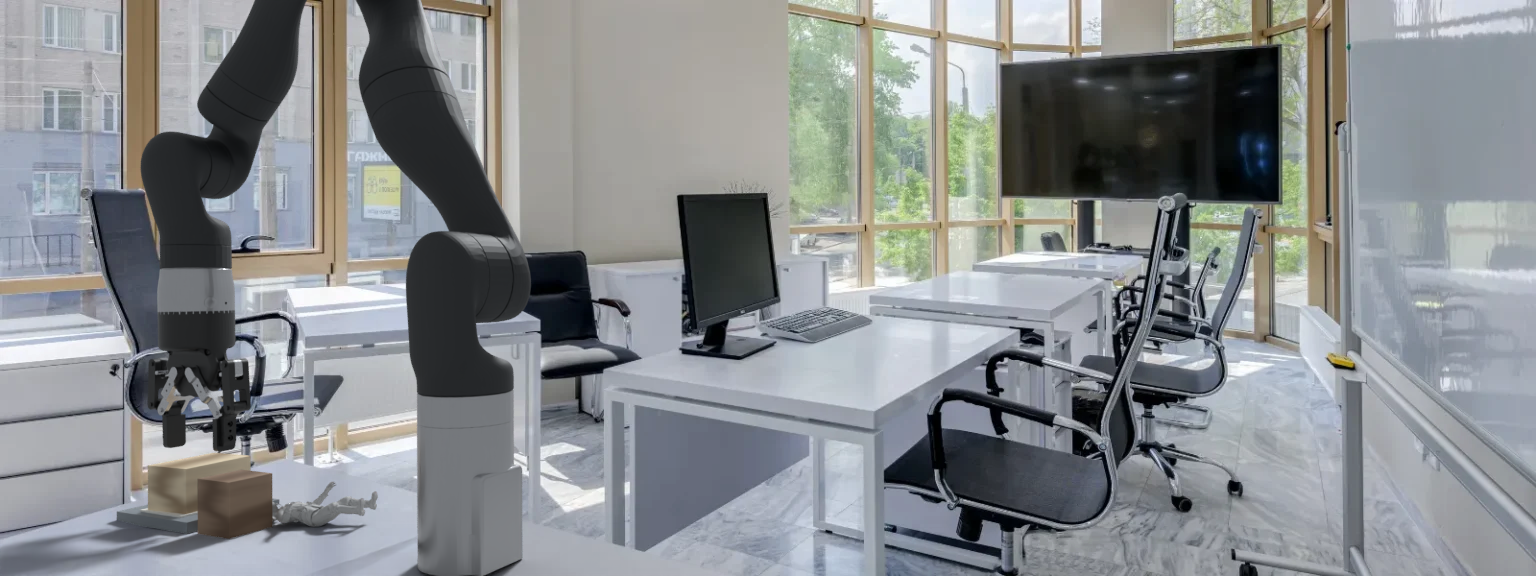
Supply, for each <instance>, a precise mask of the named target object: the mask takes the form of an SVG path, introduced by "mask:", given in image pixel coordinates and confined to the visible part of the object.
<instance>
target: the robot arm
mask: <svg viewBox="0 0 1536 576" xmlns="http://www.w3.org/2000/svg"><path fill="white" fill-rule="evenodd" d="M307 1H308V0H254V2H253V4H252V6H251V9H250V11H249V13H248V16H247V17H246V20H245V22H244V24H243V26H242V28H241V30H240V32H239V34H238V35H237V37H236V40H235V41H234V43H233V44H232V46H231V47H230V50H229V51H228V52H227V54H226V55H225V56H224V57H223V59H222V61H221V62H220V64H219V66H218V67H217V69H216V70H215V72H214V73H213V74H212V76H211V77H210V79H209V81H208V82H206V83H207V84H206V85H205V87H203V90H202V91H201V93H200V94H199V96H198V99H197V101H196V103H197V105H196V106H197V110H198V112H199V113H200V115H201V116H202V117H203V118H204V119H205V120H206V121H207V122H208V123H210V124H211V125H212V129H211V131H210V133H209V134H208V136H206V137H203V136H200V135H194V134H190V133H184V132H180V131H163V132H159V133H158V134H156V135H154V136H153V137H152V138H151V139H150V140H149V141H148V142H147V144H146V145H145V146H144V148H143V151H142V153H141V158H140V175H141V177H140V178H141V180H142V185H143V188H144V191H145V194H146V197H147V200H148V203H149V206H150V210H151V212H152V213H151V214H152V216H153V219H154V222H155V225H156V228H157V231H158V234H159V243H158V244H159V268H160V269H159V274H158V275H159V276H158V282H157V289H156V290H157V293H156V297H157V300H156V301H157V347H158V349H159V350H160V351H164V352H168V353H169V354H168V357H158V358H150V359H149V360H148V371H147V372H148V373H147V374H148V377H147V408H148V409H149V410H152V411H153V410H156V411H157V413H158V415H159V416H161V417H162V424H161V425H162V426H161V427H162V445H163V447H164V448H168V449H172V448H173V449H174V448H180V447H183V446H185V445H186V443H187V431H186V430H187V429H186V428H187V427H186V426H187V425H186V424H187V423H186V421H187V420H186V418H187V417H186V414H185V413H184V412H185V410H186V408H187V406H188V404H189V403H190V401H191V400H193V399H195V398H199V400H200V403H203V404H205V405H207V407H208V408H209V410H210V413H211V414H212V416H213V418H212V450H213V451H214V452H219V453H221V452H226V451H232V450H234V449H235V448H236V443H237V417H238V416H239V415H240V414H241V413H243V412H245V411H250V410H251V408H252V401H251V400H252V399H251V386H250V385H251V383H250V368H249V367H250V366H249V360H248V359H247V358H235V359H232V358H231V359H228V354H227V350H228V349H231V348H233V347H235V346H236V293H235V292H236V291H235V289H236V288H235V281H234V276H233V269H232V268H233V262H232V261H233V253H232V251H233V248H232V245H233V244H232V241H233V240H232V231H231V228H230V226H229V225H228V224H227V223H226V221H223V220H222V219H219V218H217V217H214V216H212V215H210V214H209V213H208V212H207V209H206V207H205V204H204V201H203V199H210V200H220V199H225V198H228V197H229V196H231V195H233V194H234V193H236V192H237V191H238V190H239V189H240V188H241V187H242V186H243V185H244V184H245V182H247V179H248V177H249V175H250V172H251V170H252V167H253V163H254V161H255V160H254V159H255V158H256V153H257V151H258V148H259V145H260V141H261V137H262V134H263V130H264V128H265V127H266V125H267V124H268V123H269V121H270V120H271V119H272V117H273V116H274V114H275V113H276V111H277V110H278V109H279V107H280V106H281V104H282V102H283V100H285V98H286V97H287V95H288V93H289V91H290V89H291V88H292V86H293V83H294V80H295V77H296V75H297V70H298V64H299V50H300V49H299V44H300V43H299V42H300V28H301V27H300V26H301V21H302V17H303V13H304V9H305V5H306V3H307ZM355 1H356V4H357V5H358V7H359V9H360V12H361V14H362V17H363V20H364V23H365V25H366V28H367V31H368V37H369V41H368V44H367V47H366V49H365V52H364V55H363V57H362V60H361V64H360V67H359V71H358V87H359V93H360V97H361V100H362V102H363V106H364V108H365V111H366V115H367V117H368V120H369V123H370V126H371V129H372V132H373V134H374V137H375V138H376V140H377V142H378V144H379V146H380V147H381V149H382V150H383V151H384V153H385V154H386V155H387V157H388V158H389V159H390V160H391V161H392V162H393V164H395V165H396V167H398V169H399V170H400V171H401V172H402V173H403V174H404V175H405V176H406V177H407V178H408V179H409V181H411V182H412V183H413V184H414V186H416V187H417V189H419V191H421V192H422V193H423V195H425V197H426V198H427V199H429V201H430V202H431V203H432V204H433V206H434V207H435V208H436V209H437V211H438V212H439V214H440V216H441V218H442V220H443V222H444V223H445V225H446V228H447V230H438V231H431V232H428V233H426V234H425V235H423V236H422V237H420V238H419V240H417V242H416V243H415V244H414V247H413V248H412V250H411V252H410V254H409V258H408V261H407V265H406V273H405V274H406V275H405V299H406V302H405V303H406V313H407V329H408V330H407V331H408V346H409V347H408V348H409V349H408V350H409V351H408V352H409V360H410V363H411V366H412V370H413V372H414V375H415V379H416V493H417V494H416V495H417V496H416V497H417V498H416V502H417V503H416V504H417V505H416V508H417V509H416V510H417V511H416V512H417V513H416V515H417V516H416V521H417V522H416V523H417V524H416V525H417V526H416V528H417V569H418V570H419V572H421V573H424V574H428V575H430V576H486V575H489V574H491V573H493V572H495V571H498V570H499V569H502V568H504V567H507V566H509V565H510V564H513V563H515V562H517V561H520V560H522V559H523V552H524V551H523V550H524V549H523V546H524V545H523V543H524V541H523V535H524V534H523V467H522V466H521V465H519V464H515V433H514V431H515V429H514V427H515V425H514V424H515V423H514V422H515V420H514V419H515V416H514V415H515V414H514V413H515V409H514V408H515V403H514V402H515V400H514V398H515V396H514V395H515V394H514V392H515V389H514V388H515V384H514V382H515V376H514V375H515V374H514V368H513V365H512V364H511V362H510V361H508V360H507V359H504V358H502V357H498V356H496V355H493V354H491V353H490V352H488V351H487V350H486V349H485V348H484V347H483V346H482V345H481V343H480V340H479V335H478V328H477V324H488V323H489V324H490V323H499V322H504V321H509V320H510V321H511V320H512V319H514V318H516V317H518V316H519V315H520V314H522V312H523V311H524V310H525V308H526V306H527V305H528V302H529V299H530V296H531V288H532V283H531V282H532V281H531V280H532V278H531V270H530V267H529V263H528V259H527V256H526V252H525V251H524V248H523V246H522V244H521V242H520V240H519V238H518V236H517V234H516V232H515V229H514V227H513V226H512V224H511V222H510V220H509V219H508V215H506V213H505V210H504V208H503V207H502V205H501V202H500V200H499V199H498V197H497V195H496V192H495V191H494V189H493V186H492V184H491V182H490V180H489V177H488V175H487V173H486V171H485V168H484V165H483V163H482V161H481V158H480V156H479V154H478V151H477V149H476V147H475V143H474V142H473V139H472V136H471V134H470V132H469V129H468V126H467V122H466V120H465V117H464V114H463V112H462V108H461V105H460V102H459V100H458V97H457V94H456V92H455V90H454V86H453V83H452V81H451V78H450V76H449V73H448V71H447V70H446V67H445V65H444V62H443V60H442V57H441V54H440V51H439V49H438V46H437V43H436V40H435V38H434V35H433V31H432V29H431V27H430V24H429V21H428V20H427V16H426V13H425V10H424V7H423V6H424V5H423V3H422V0H355ZM160 389H162V390H161V392H160V394H161V395H160V396H162V397H159V391H160ZM236 391H238V394H239V396H238V397H239V400H237V401H236V398H235V395H236ZM220 402H222V405H221V404H220Z"/></svg>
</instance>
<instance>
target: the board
mask: <svg viewBox="0 0 1536 576" xmlns="http://www.w3.org/2000/svg"><path fill="white" fill-rule="evenodd" d="M272 502H274V503H275V504H276V506H278V505H280V499H279V498H272ZM117 520H119V521H118V522H122V523H126V522H127V524H130V523H131V525H134V526H138V527H143V528H151V529H157V530H162V531H168V532H174V533H180V534H186V535H187V534H191V533H195V532H198V511H197V512H193V513H189V514H179V513H171V512H163V511H154V510H148V504H144V505H139V506H136V507H130V508H127V509H121V510H119V511H118V510H117V511H116V521H117Z"/></svg>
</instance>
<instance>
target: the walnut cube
mask: <svg viewBox="0 0 1536 576" xmlns="http://www.w3.org/2000/svg"><path fill="white" fill-rule="evenodd" d="M197 491H198V531H197V535H201V536H208V537H215V538H222V539H227V540H232V539H234V538H239V537H242V536H244V535H245V536H246V535H249V534H253V533H255V532H259V531H263V530H266V529H267V530H268V529H270V528H273V526H274V523H273V522H274V521H273V512H272V499H273V472H266V471H265V472H264V471H257V470H256V471H255V470H251V471H249V470H237V471H232V472H227V473H223V474H218V475H213V476H208V477H203V478H198V479H197Z"/></svg>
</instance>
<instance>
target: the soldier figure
mask: <svg viewBox="0 0 1536 576" xmlns="http://www.w3.org/2000/svg"><path fill="white" fill-rule="evenodd" d="M335 486H337V484H336V482H335V481H331V482H329V483H328V484H327V485H326V487H325V488H324V490H323V491H322V492H321V494H320V495H319V496H318V497H317V498H315V499H314V500H313V501H306V502H301V501H291V502H289V503H288V502H287V503H286V504H284V505H282V504H280V503H279V505H280V506H278V505H276V504H275V503H274V502H272V512H273V522H274V521H275V522H276V521H277V522H279V523H281V524H287V523H299V522H301V523H303V524H305V525H306V526H309V527H314V528H316V527H322V526H325V525H326V524H328V523H330V522H331V521H334V520H335V519H336V518H337V517H338V516H340V515H343V514H344V515H358V516H360V517H361V516H362V517H364V516H365V514H366V511H365V509H370V510H374V511H376V509H377V500H378V498H379V494H378V492H377V491H373V492H372V493H371V498H370V499H368V500H367V499H366V500H365V498H363V497H361V498H354V497H352V496H349V495H348V496H345V497H341V498H340V499H338V500H337V501H332V502H330V503H328V504H327V505H325V506H323V505H321V504H323V502H324V500H326V499H327V497H328V496H329V493H330V491H331V490H333V488H334V487H335Z"/></svg>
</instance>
